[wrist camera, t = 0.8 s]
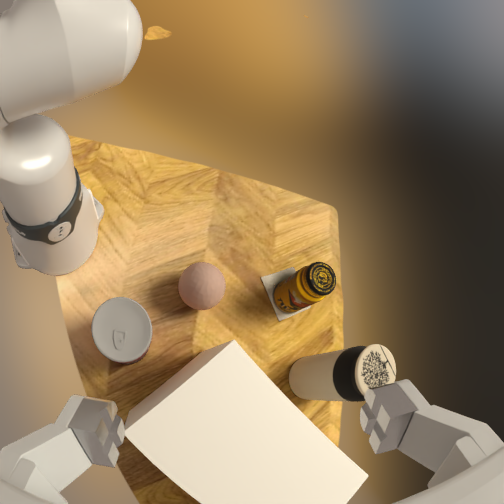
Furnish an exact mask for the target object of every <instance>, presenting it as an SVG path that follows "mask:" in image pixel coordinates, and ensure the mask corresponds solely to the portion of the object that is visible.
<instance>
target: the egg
mask: <svg viewBox="0 0 504 504" xmlns="http://www.w3.org/2000/svg"><path fill="white" fill-rule="evenodd" d="M178 290H179V294H180V296H181V298H182V300H183V301H184V302H185V303H186V304H187V305H188V306H190V307H191V308H194V309H197V310H206V309H210V308H212V307H214V306H215V305H217V304H218V303H219V302H220V300H221V299H222V297H223V295H224V292H225V279H224V277H223V274H222V273H221V272H220V270H219V269H218V268H216V267H215V266H214V265H212V264H209V263H205V262H199V263H194V264H192V265H190V266H189V267H187V268H186V269H185V270H184V271H183V273H182V274H181V276H180V279H179V284H178Z"/></svg>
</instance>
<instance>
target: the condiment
mask: <svg viewBox="0 0 504 504" xmlns="http://www.w3.org/2000/svg"><path fill="white" fill-rule="evenodd" d="M261 279H262V281H263V284H264V286H265V288H266V291H267V293H268V296H269V298H270V301H271V303H272V305H273V308H274V310H275V313H276V315H277V317H278V319H279V321H281V320H283V319H286V318H288V317H290V316H293V315H295V314H297V313H300V312H302V311H304V310H306V309H309V308H311V306H310V305H312V304H314V303H316V302H319V301H321V300H322V299H324V298H325V296H326V295H328V294H330V293H331V292H332V291H333V290H334V288H335V285H336V276H335V273H334V271H333V269H332V268H331V267H330V266H329V265H327V264H325V263H322V262H315V263H313V264H311V265H309V266H305V267H303V268H301V269H300V270H298V271H297V272H296V271H295V269H294V267H291V268H289V269H286V270H283V271H280V272H277V273H274V274H270V275H268V276H264V277H261ZM274 284H275V285H274ZM274 286H275V287H274Z"/></svg>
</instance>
